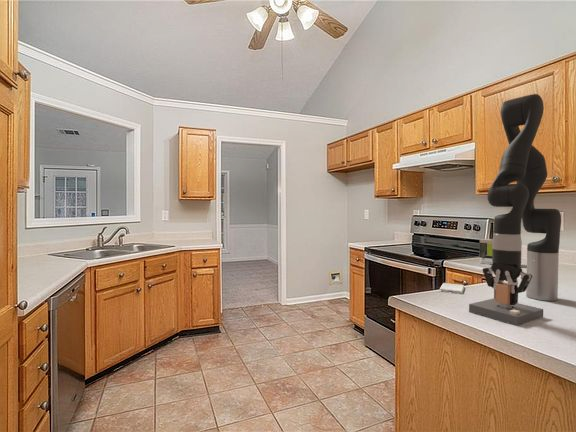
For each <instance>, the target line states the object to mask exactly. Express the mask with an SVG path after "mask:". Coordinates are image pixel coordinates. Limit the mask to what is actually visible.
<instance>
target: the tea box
mask: <svg viewBox="0 0 576 432" xmlns="http://www.w3.org/2000/svg"><path fill="white" fill-rule="evenodd" d="M492 244H493V238H484V239H483V238H482V239H479V264H484V265H486V264H487V265H492V264H493V262H492Z"/></svg>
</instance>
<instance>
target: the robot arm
mask: <svg viewBox="0 0 576 432" xmlns="http://www.w3.org/2000/svg"><path fill="white" fill-rule="evenodd" d="M544 108H545V107H544V102H543V99H542V97H541V95H539V94H537V93H534V94H529V95H524V96H520V97H516V98H512V99H508V100H505V101H504V102H502V104H501V106H500V117H501V122H502V125H503V129H504V132H505V136H506V138H507V142H508V146H507V147H506V148H505V150H504V151H503V153H502V156H501V159H500V165H499V170H498V173H497V175H496V177H495V179H494V180H493V182H492V184H491V185H490V187H489V189H488V191H487V194H486V195H487V201H488V203H489V205H490V206H492V207H494V208H495V207H497V208H504V207H505V208H511V210H510V211H509V212H508V213H503V214H498V215H496V216H494V218H493V237H492V239H493V244H492V262H493V264H491V266H490V267H484V268H482V272H483V276H484V279H485V281H486V284H487V286H488V287H491V288H492V289H493V294H494V295H493V298H494V299H495V286H496V284H499V283H505V282H506V283H508V285H509V286H510V291H511V293H510V305H516V304H517V303H519V294H520V293H524V292H525V294H526V295H525V296H526V297H528V298H530V299H534V300H538V301H539V300H540V301H548V302H554V301H555V302H556V301H558V296H559V295H558V294H559V291H558V290H559V253H560V252H559V251H560V240H561V239H560V237H561V227H562V215H561V214H562V213H561V212H560V210H559V209H556V208H535V198H536V196H537V195H538V193H539V191H540V190H541V188H542V187H543V185H544V184H545V182H546V181H547V178H548V170H547V169H548V168H547V163H546V159H545V156H544V155H543V154H542V152H541V151H539V150H538V149H537V148H536V147H535V146H534V145H533V142H534V141H535V138H536V135H537V134H538V130H539V127H540V125H541V121H542V119H543V115H544ZM519 126H523V127H522V129H520V127H519ZM515 182H516V183H515ZM522 226H523V229H524V230H525V232H527V233H531V234H545V237H544V238H542V239H540V240H537V241H533V242H529V243H528V244H527V247H526V272H524V271H523V268H522V265H521V264H522V247H523V246H522V244H523V243H522V235H521V234H522ZM493 273H494V275H495V276H493ZM519 277H520V283H519V280H518V279H519Z"/></svg>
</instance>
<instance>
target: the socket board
mask: <svg viewBox="0 0 576 432" xmlns="http://www.w3.org/2000/svg"><path fill="white" fill-rule="evenodd" d="M468 306H469V307H468V312H469V313H473V314H476V315H478V316H483V317H486V318H490V319H493V320H496V321H500V322H503V323H506V324H510V325H512V326H513V325H514V326H516V325H517V326H518V327H519V326H521V325H523V324H527V323H530V322H533V321H536V320H539V319H542V318H544V308H540V307H536V306H531V305H528V304H524V303H519V302H518V303H517V304H516V305H512V307H511V308H510V309H505V308H501V307H499V302H495V299H494V297H493V298H490V299H485V300H481V301H477V302H473V303H469V304H468Z"/></svg>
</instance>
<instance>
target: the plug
mask: <svg viewBox="0 0 576 432" xmlns="http://www.w3.org/2000/svg"><path fill="white" fill-rule="evenodd" d="M510 293H511V291H510V286H509V285H508V282H503V283H499V284H496V286H495V302H499V307H501V308H505V309H510V308H511V307H512V305H510Z"/></svg>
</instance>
